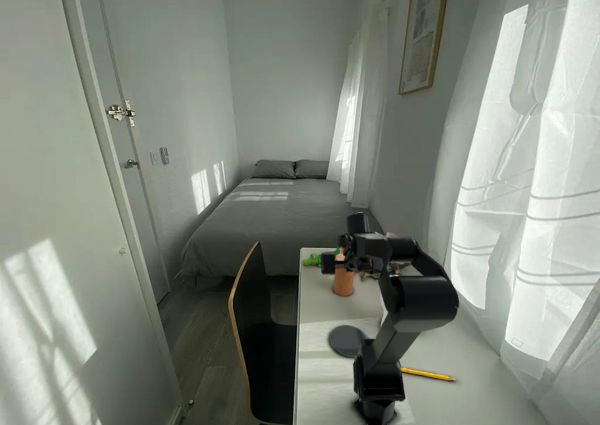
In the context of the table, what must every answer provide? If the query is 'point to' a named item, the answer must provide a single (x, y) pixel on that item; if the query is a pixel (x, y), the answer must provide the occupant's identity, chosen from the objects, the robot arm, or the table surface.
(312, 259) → the toy
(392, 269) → the bird figurine
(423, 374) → the pencil
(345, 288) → the copper pot
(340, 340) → the charcoal plate
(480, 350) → the table surface
